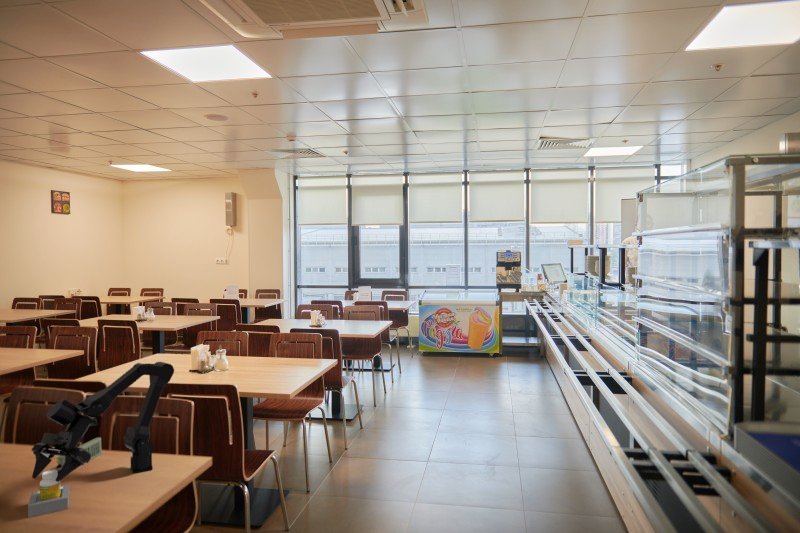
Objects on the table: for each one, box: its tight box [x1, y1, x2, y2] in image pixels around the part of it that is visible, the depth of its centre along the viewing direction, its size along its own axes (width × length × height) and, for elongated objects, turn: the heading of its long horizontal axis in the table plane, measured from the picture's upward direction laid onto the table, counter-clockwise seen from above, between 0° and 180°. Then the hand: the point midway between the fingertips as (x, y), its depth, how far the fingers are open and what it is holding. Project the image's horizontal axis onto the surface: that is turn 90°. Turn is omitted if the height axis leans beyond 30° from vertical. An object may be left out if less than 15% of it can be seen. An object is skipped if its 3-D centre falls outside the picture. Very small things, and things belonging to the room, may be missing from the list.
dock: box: [27, 484, 71, 518], centre depth 161 cm, size 10×10×4 cm
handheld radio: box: [55, 437, 103, 474], centre depth 191 cm, size 7×3×25 cm
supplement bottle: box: [39, 469, 61, 501], centre depth 161 cm, size 5×5×10 cm
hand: (44, 479), depth 159 cm, fingers open, 9 cm apart
